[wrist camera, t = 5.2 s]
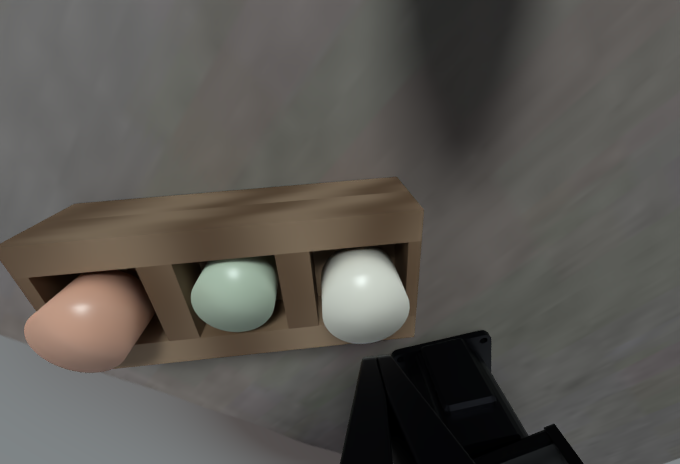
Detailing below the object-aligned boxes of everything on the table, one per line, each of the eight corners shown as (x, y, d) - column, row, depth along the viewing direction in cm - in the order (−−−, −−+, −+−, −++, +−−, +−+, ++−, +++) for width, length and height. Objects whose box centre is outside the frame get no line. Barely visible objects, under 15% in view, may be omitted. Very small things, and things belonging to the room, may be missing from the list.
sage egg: (274, 236, 13) (266, 265, 11) (284, 294, 15) (280, 327, 13) (199, 243, 13) (179, 273, 11) (218, 300, 14) (203, 335, 12)
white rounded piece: (396, 240, 12) (412, 272, 10) (394, 301, 14) (407, 339, 12) (317, 248, 12) (318, 281, 10) (324, 308, 14) (326, 348, 12)
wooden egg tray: (396, 176, 14) (423, 209, 11) (393, 283, 17) (414, 336, 14) (74, 203, 14) (-9, 248, 10) (129, 309, 17) (79, 372, 13)
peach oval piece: (139, 264, 12) (105, 302, 10) (166, 324, 13) (141, 367, 11) (55, 272, 12) (3, 312, 10) (92, 332, 13) (53, 376, 11)
